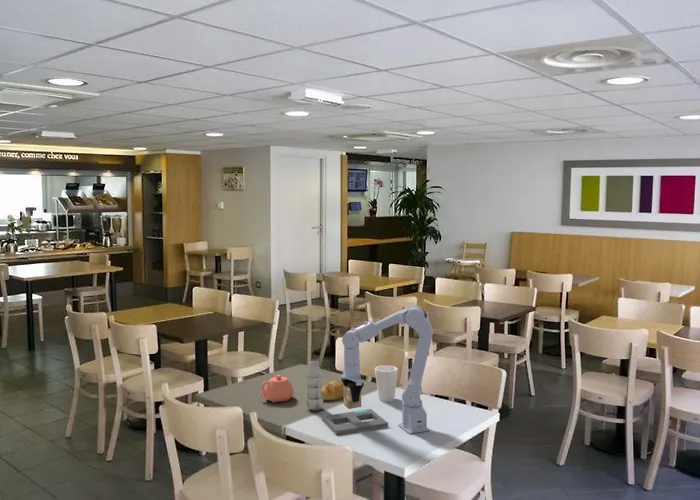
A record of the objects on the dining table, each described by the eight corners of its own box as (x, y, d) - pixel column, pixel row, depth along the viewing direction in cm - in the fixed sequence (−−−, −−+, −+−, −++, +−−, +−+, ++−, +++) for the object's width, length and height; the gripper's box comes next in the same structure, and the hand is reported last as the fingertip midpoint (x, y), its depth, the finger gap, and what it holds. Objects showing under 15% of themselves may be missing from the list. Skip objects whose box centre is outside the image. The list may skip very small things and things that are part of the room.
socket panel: (387, 426, 221) (387, 422, 221) (336, 435, 214) (336, 430, 214) (370, 412, 236) (370, 408, 236) (322, 419, 229) (321, 415, 229)
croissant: (316, 411, 248) (321, 397, 244) (304, 395, 255) (308, 381, 251) (357, 399, 261) (362, 385, 257) (344, 384, 267) (349, 370, 264)
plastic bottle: (321, 412, 237) (320, 362, 235) (304, 411, 238) (303, 361, 236) (325, 407, 243) (324, 358, 241) (309, 406, 244) (307, 357, 243)
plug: (361, 407, 223) (360, 388, 222) (348, 409, 221) (348, 390, 220) (356, 402, 227) (355, 384, 227) (343, 404, 226) (343, 386, 225)
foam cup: (398, 395, 256) (397, 365, 254) (397, 403, 246) (397, 371, 245) (375, 395, 256) (375, 365, 255) (374, 402, 247) (374, 371, 246)
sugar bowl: (297, 401, 250) (296, 377, 250) (264, 406, 245) (263, 381, 244) (289, 393, 262) (288, 369, 261) (257, 397, 257) (256, 373, 256)
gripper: (335, 359, 228) (335, 395, 229) (348, 369, 215) (349, 406, 216) (352, 357, 231) (353, 392, 232) (367, 367, 217) (367, 404, 218)
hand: (352, 399), depth 224 cm, fingers closed on plug, 5 cm apart
